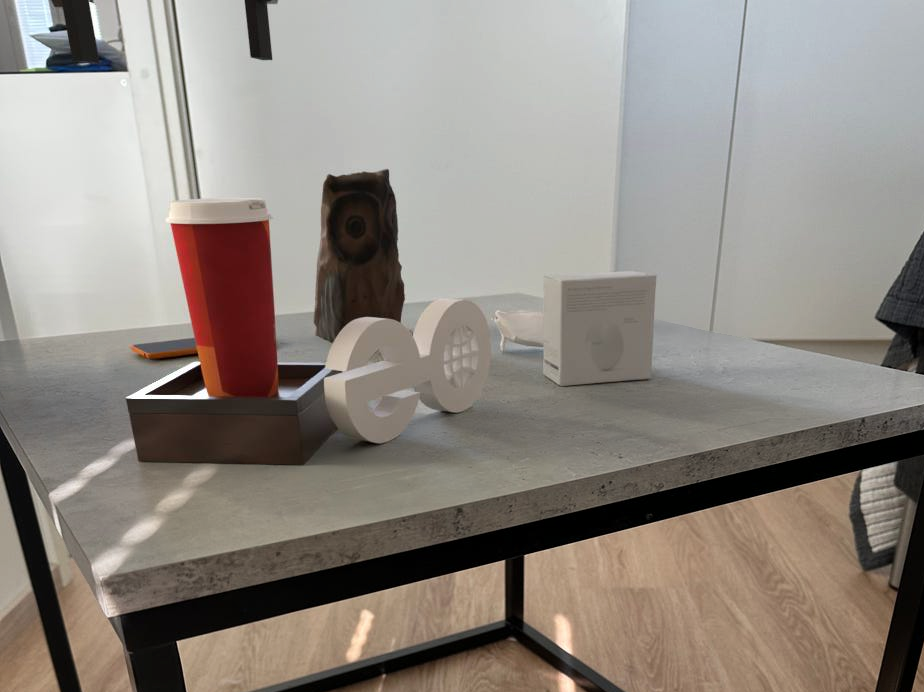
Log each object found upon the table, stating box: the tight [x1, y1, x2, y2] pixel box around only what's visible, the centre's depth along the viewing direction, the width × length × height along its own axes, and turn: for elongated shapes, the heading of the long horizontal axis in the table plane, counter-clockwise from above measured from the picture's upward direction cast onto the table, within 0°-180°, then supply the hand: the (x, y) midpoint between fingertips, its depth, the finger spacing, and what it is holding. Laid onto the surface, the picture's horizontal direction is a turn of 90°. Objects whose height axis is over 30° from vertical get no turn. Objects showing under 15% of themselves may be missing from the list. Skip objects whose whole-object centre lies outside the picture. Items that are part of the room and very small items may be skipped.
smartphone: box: [130, 337, 198, 360], centre depth 118 cm, size 8×17×1 cm, turn 125°
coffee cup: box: [165, 197, 278, 397], centre depth 76 cm, size 8×8×15 cm
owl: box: [313, 168, 406, 344], centre depth 118 cm, size 13×13×20 cm
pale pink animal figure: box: [490, 309, 544, 354], centre depth 112 cm, size 5×7×10 cm
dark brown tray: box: [125, 361, 343, 466], centre depth 80 cm, size 14×14×5 cm
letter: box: [324, 297, 492, 444], centre depth 82 cm, size 22×2×10 cm, turn 148°
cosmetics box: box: [542, 270, 658, 387], centre depth 98 cm, size 10×6×10 cm, turn 104°
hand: (173, 61), depth 68 cm, fingers open, 13 cm apart
